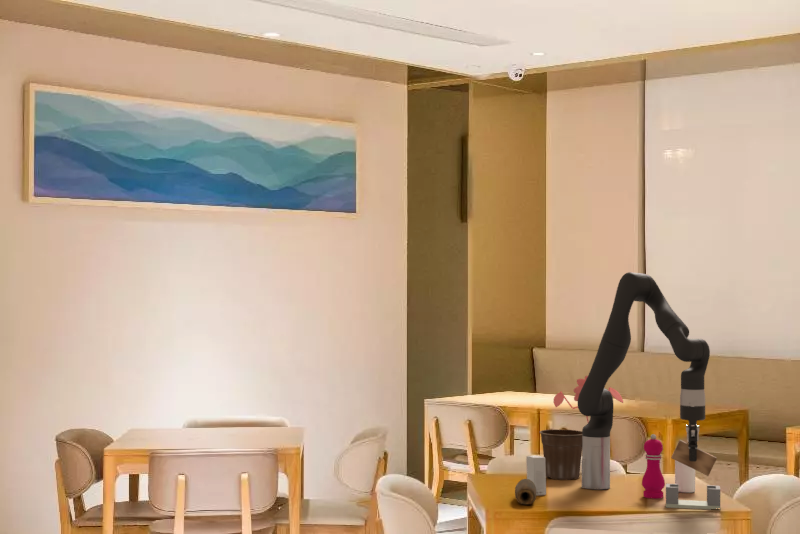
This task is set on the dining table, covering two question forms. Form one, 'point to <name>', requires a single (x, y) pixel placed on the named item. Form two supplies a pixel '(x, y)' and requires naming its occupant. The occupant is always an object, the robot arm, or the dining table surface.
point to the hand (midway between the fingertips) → (692, 460)
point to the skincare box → (537, 473)
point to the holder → (711, 502)
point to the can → (684, 478)
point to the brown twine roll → (525, 491)
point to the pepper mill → (653, 469)
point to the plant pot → (562, 453)
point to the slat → (701, 465)
